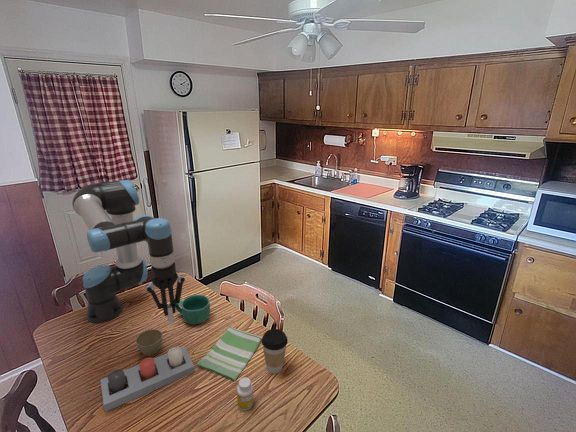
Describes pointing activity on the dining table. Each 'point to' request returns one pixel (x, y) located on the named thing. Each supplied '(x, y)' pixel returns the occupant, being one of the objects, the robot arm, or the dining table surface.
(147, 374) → the button red
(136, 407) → the dining table surface
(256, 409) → the dining table surface
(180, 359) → the button ivory
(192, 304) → the mug
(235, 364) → the dish towel
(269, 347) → the coffee cup
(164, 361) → the panel
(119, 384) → the button black
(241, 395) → the supplement bottle
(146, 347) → the flower pot
